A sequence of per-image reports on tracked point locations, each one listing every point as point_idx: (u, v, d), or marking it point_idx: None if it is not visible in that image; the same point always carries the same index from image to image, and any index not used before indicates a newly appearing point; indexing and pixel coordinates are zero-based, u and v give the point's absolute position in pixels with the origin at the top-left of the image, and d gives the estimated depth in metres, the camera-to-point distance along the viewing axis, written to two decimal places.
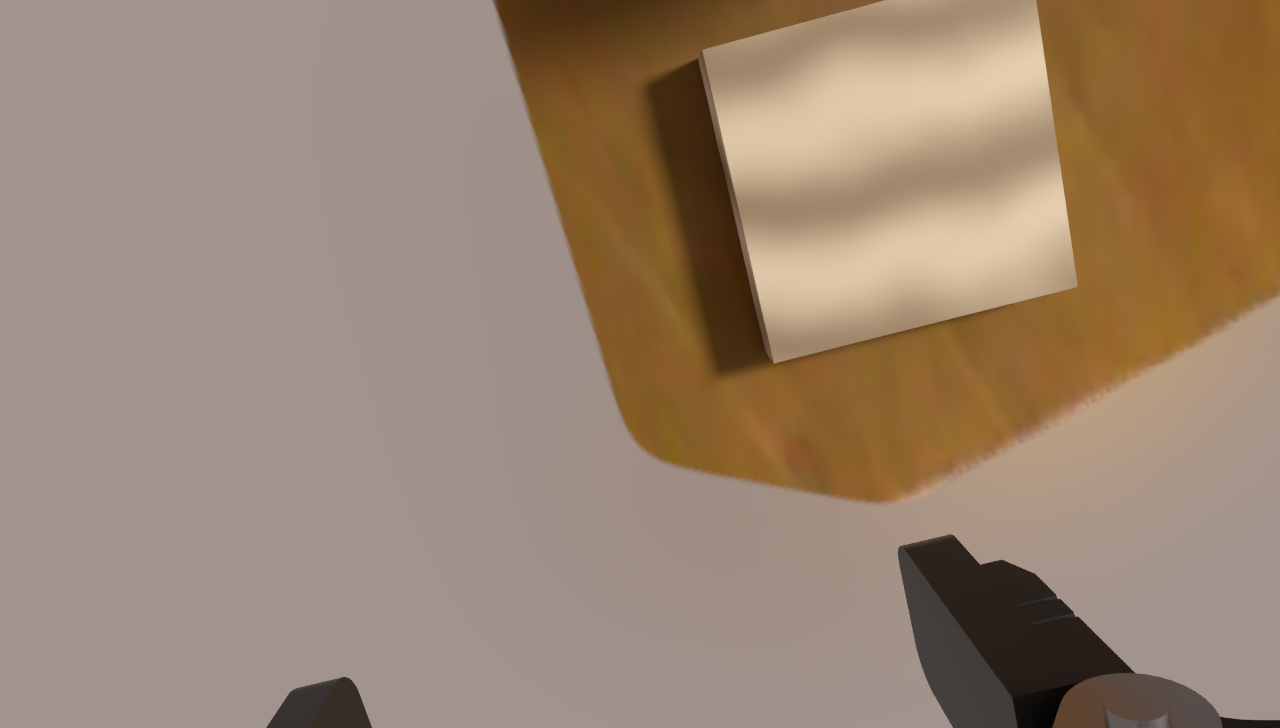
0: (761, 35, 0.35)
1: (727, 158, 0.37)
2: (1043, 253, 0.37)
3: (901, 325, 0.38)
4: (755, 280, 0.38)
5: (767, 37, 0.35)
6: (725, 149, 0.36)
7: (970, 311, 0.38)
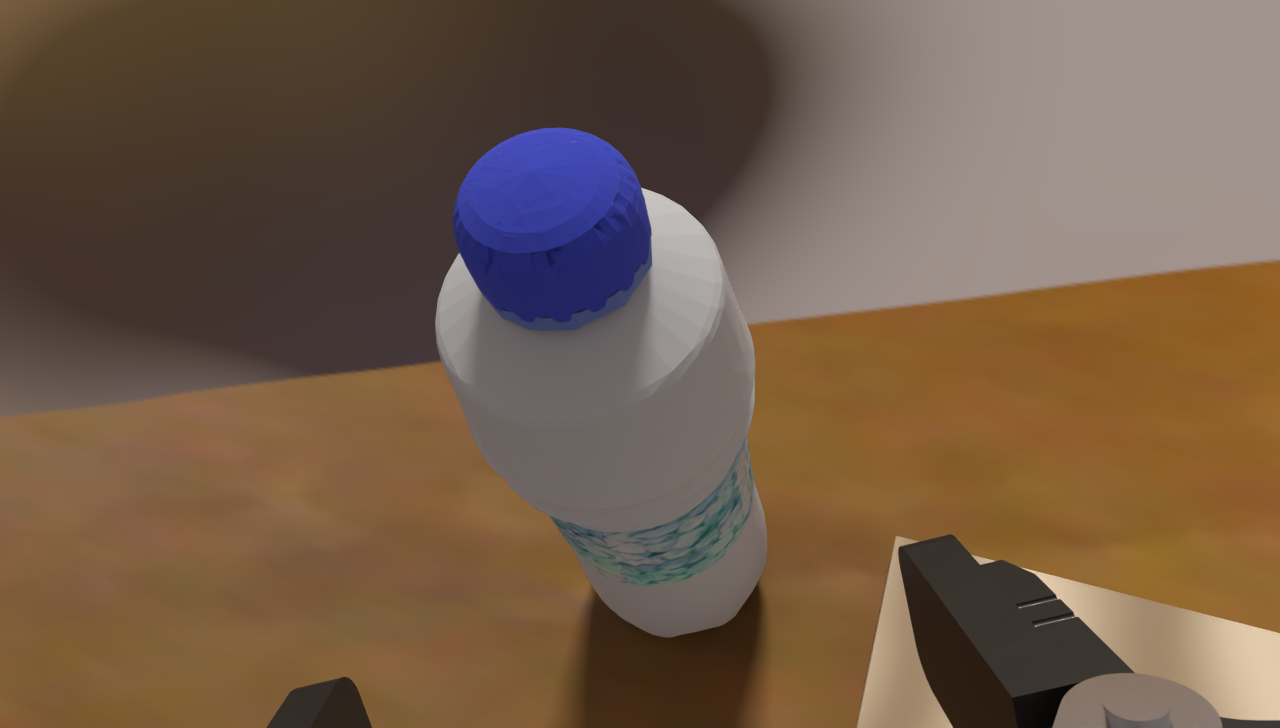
0: None
1: None
2: None
3: None
4: None
5: None
6: None
7: None
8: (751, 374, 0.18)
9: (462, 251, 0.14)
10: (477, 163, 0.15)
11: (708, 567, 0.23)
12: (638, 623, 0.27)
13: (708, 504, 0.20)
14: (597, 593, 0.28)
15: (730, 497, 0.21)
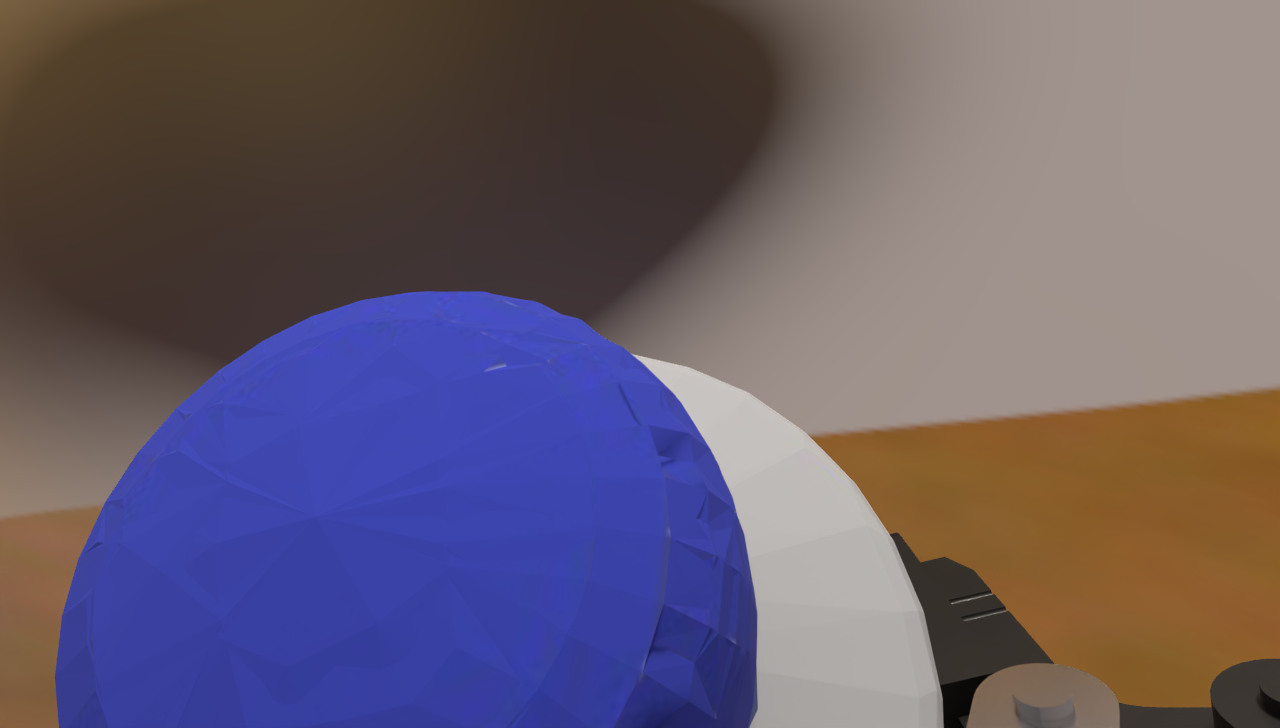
0: None
1: None
2: None
3: None
4: None
5: None
6: None
7: None
8: None
9: None
10: (170, 421, 0.04)
11: None
12: None
13: None
14: None
15: None
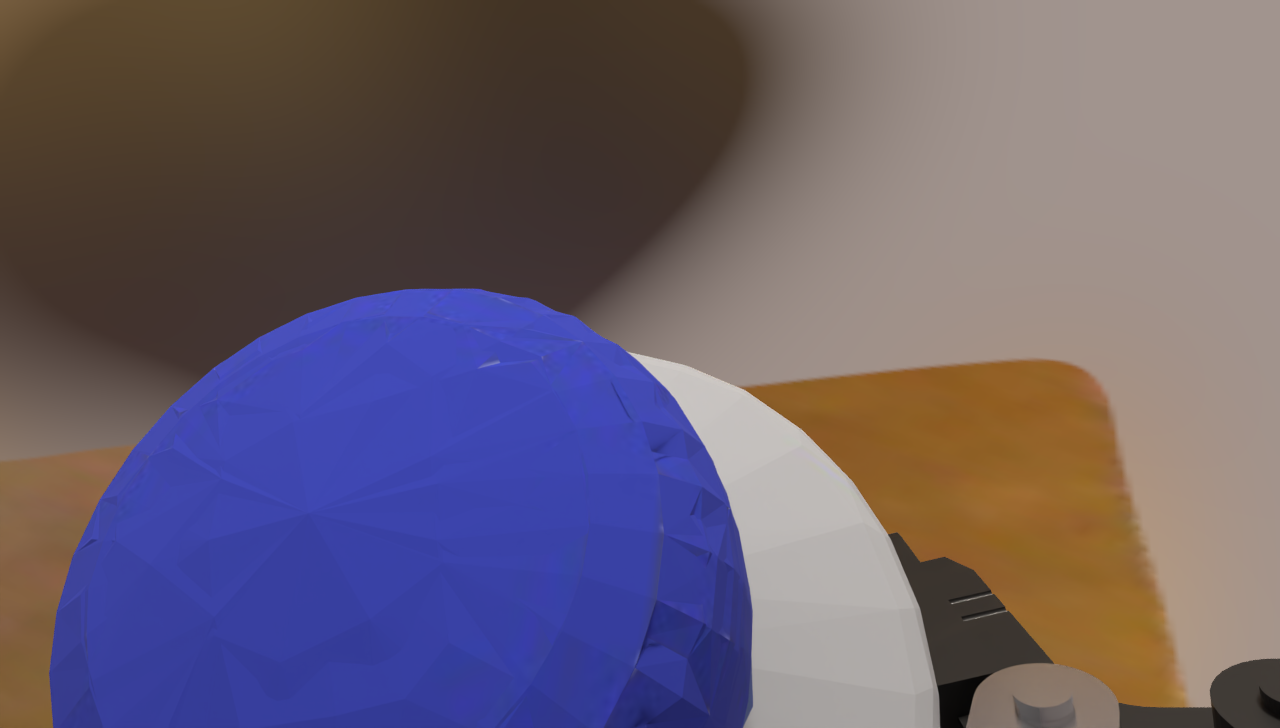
0: None
1: None
2: None
3: None
4: None
5: None
6: None
7: None
8: None
9: None
10: (165, 418, 0.04)
11: None
12: None
13: None
14: None
15: None
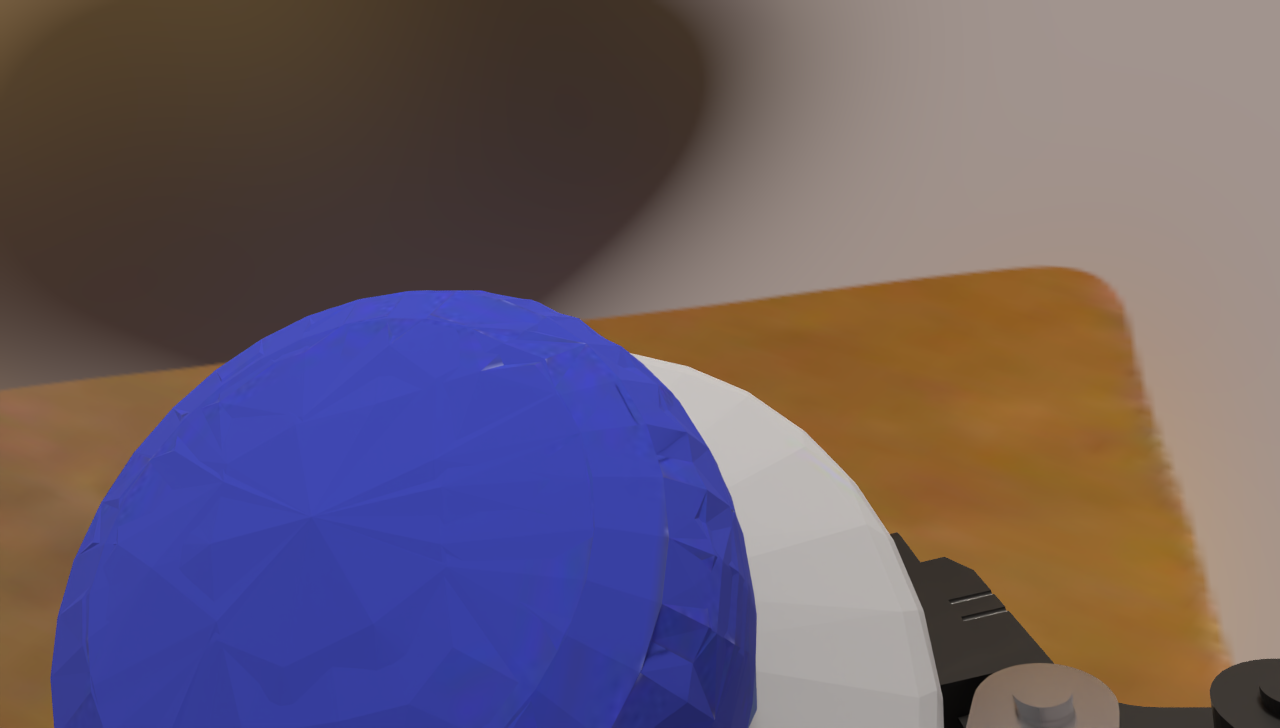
0: None
1: None
2: None
3: None
4: None
5: None
6: None
7: None
8: None
9: None
10: (166, 421, 0.04)
11: None
12: None
13: None
14: None
15: None
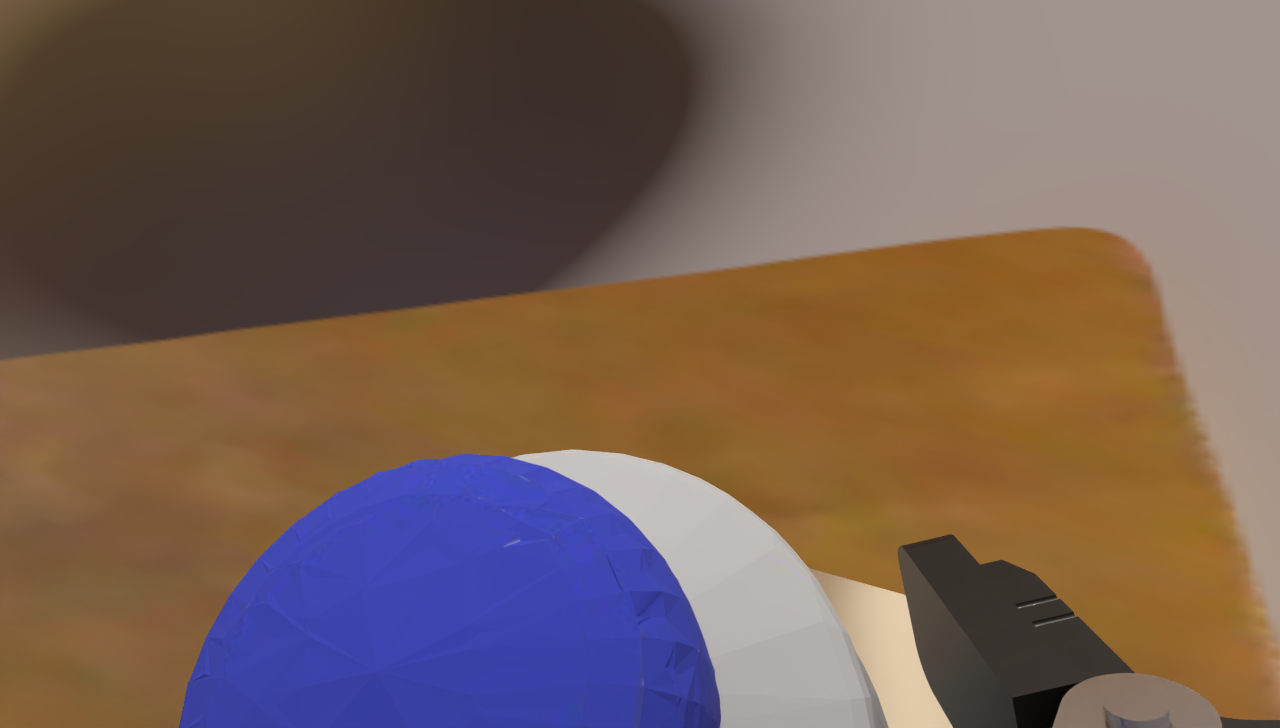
0: None
1: None
2: None
3: None
4: None
5: None
6: None
7: None
8: None
9: None
10: (255, 569, 0.05)
11: None
12: None
13: None
14: None
15: None
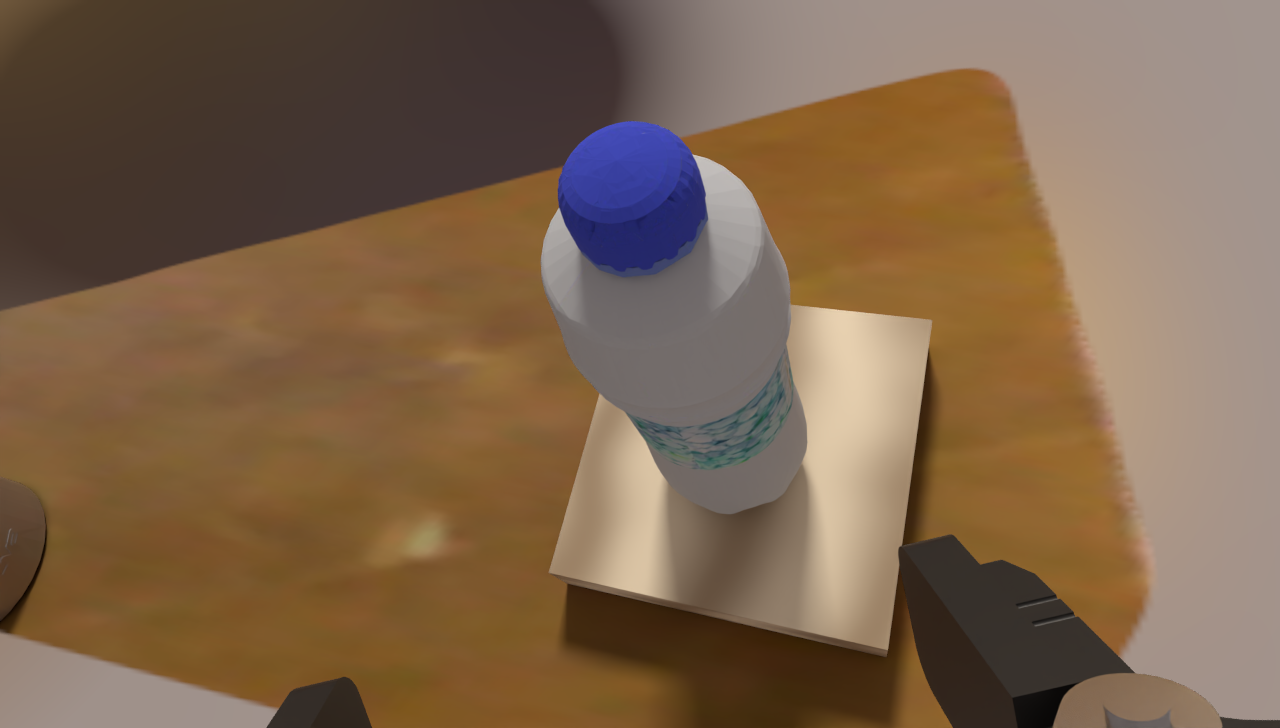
0: (566, 515, 0.37)
1: (651, 595, 0.35)
2: (883, 341, 0.37)
3: (901, 495, 0.34)
4: (784, 625, 0.33)
5: (570, 510, 0.37)
6: (642, 593, 0.35)
7: (915, 423, 0.35)
8: (787, 293, 0.23)
9: (569, 224, 0.19)
10: (571, 155, 0.19)
11: (762, 450, 0.29)
12: (706, 503, 0.33)
13: (760, 398, 0.25)
14: (669, 483, 0.33)
15: (776, 392, 0.26)
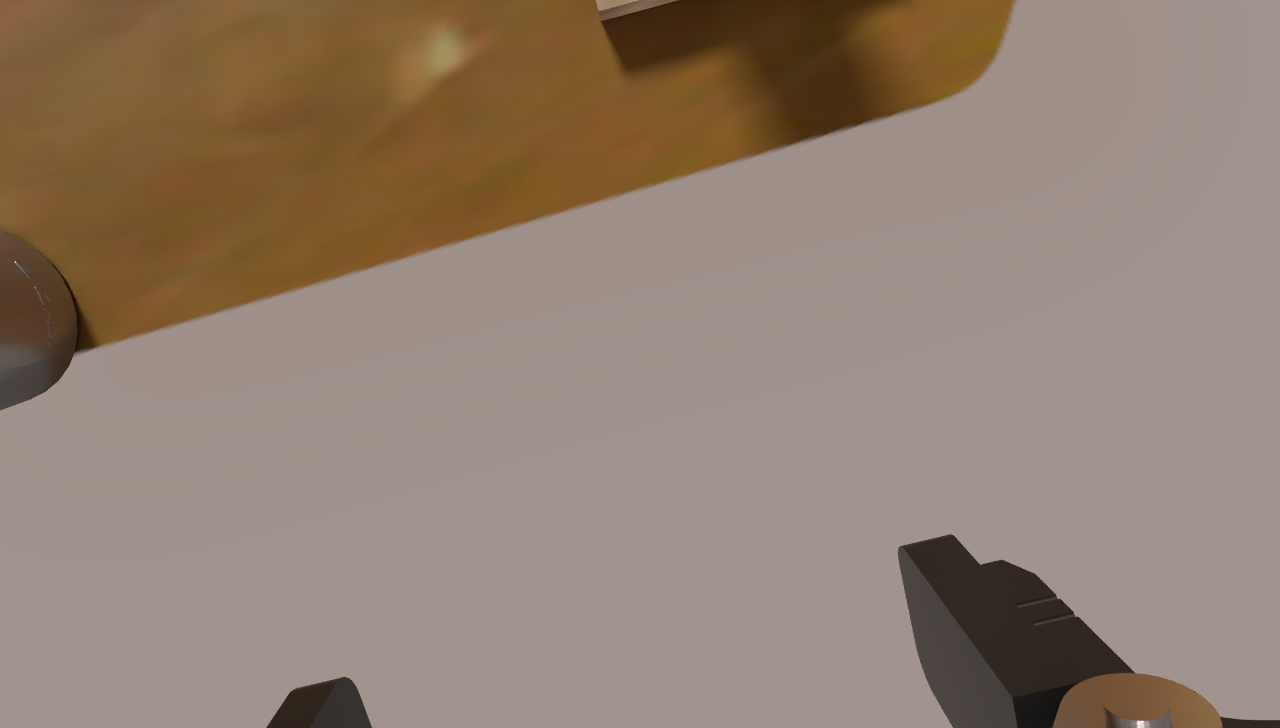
0: None
1: None
2: None
3: None
4: None
5: None
6: None
7: None
8: None
9: None
10: None
11: None
12: None
13: None
14: None
15: None
